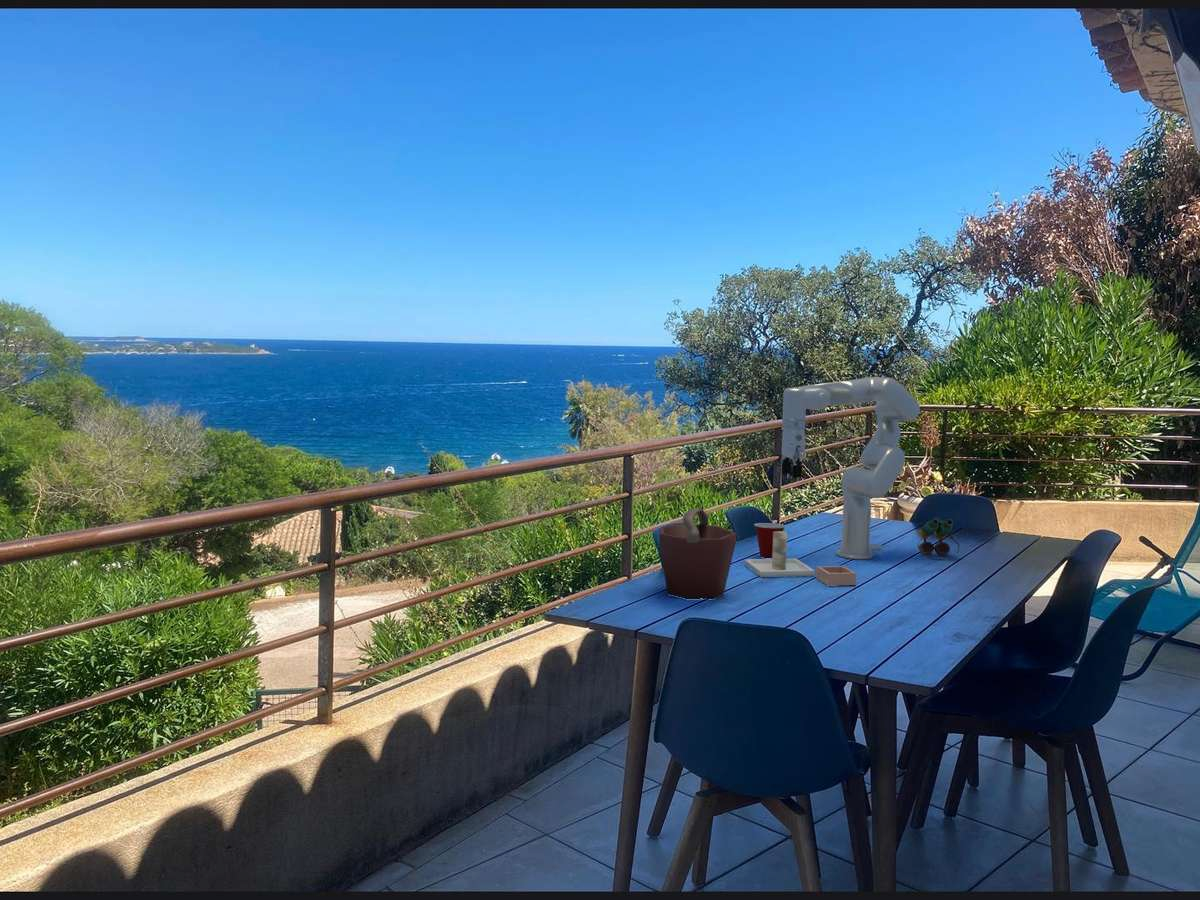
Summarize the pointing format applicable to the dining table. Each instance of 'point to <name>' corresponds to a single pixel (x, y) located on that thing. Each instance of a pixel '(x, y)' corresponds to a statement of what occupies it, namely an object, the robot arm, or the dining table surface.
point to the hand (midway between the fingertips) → (791, 475)
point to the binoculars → (940, 532)
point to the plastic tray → (792, 569)
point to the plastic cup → (766, 537)
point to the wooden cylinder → (779, 550)
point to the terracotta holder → (836, 575)
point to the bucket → (696, 557)
